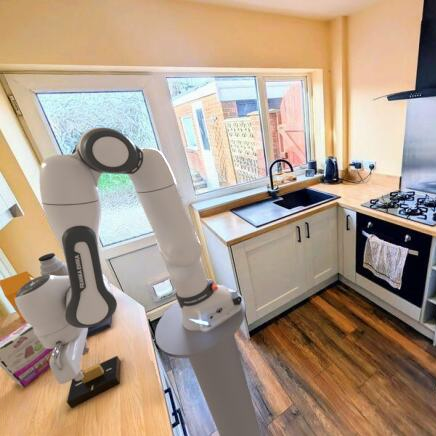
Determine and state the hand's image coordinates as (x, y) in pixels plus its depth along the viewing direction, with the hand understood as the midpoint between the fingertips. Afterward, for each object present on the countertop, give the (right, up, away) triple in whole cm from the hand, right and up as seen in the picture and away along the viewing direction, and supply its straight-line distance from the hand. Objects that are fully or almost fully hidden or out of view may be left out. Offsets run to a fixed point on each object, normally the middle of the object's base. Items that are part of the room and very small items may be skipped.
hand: (83, 364), depth 72 cm
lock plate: (+1, -8, +4) cm, 9 cm away
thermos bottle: (-34, +3, +37) cm, 50 cm away
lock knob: (+1, -5, +3) cm, 6 cm away
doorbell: (-18, 0, +26) cm, 32 cm away
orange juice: (-53, +1, +38) cm, 65 cm away
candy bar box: (-23, -8, +11) cm, 27 cm away
